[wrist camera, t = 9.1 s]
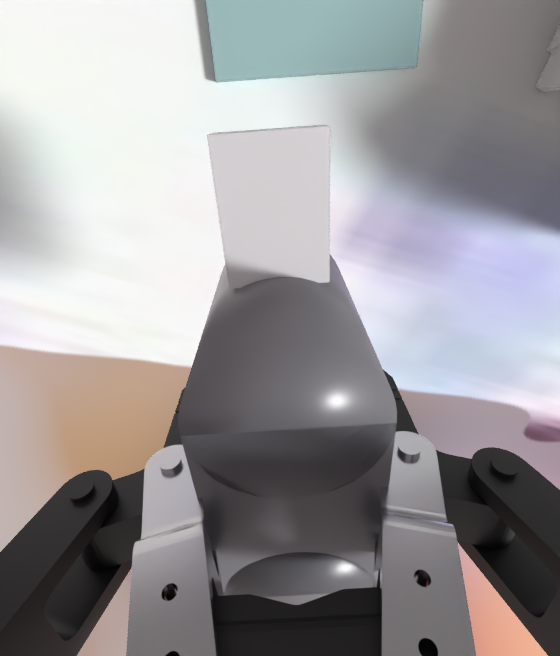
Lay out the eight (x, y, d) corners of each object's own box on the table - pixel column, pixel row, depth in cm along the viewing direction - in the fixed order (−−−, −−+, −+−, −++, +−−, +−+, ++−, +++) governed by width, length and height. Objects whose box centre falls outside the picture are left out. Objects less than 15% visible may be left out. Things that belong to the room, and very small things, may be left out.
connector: (346, 120, 10) (433, 126, 4) (339, 459, 16) (371, 626, 11) (193, 131, 10) (101, 149, 4) (246, 465, 16) (234, 633, 11)
